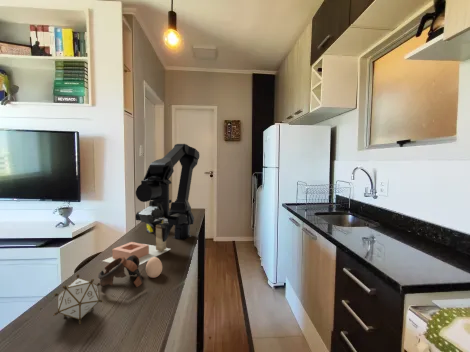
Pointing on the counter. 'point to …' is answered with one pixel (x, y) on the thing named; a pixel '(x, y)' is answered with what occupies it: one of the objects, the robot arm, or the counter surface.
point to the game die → (78, 298)
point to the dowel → (159, 239)
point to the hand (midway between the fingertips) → (161, 240)
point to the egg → (154, 267)
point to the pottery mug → (121, 270)
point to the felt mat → (152, 253)
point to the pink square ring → (130, 250)
